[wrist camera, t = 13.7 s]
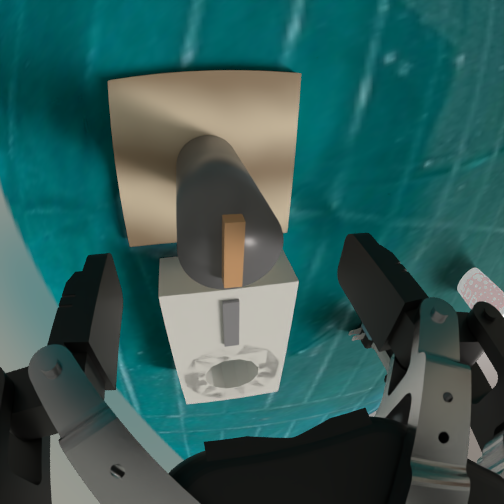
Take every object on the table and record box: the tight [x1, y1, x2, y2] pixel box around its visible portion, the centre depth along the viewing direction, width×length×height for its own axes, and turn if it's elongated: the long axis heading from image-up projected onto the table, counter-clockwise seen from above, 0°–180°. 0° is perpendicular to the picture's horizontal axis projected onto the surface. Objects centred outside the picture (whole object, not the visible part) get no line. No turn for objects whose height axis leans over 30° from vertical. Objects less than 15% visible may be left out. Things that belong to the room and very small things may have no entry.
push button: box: [349, 323, 394, 383], centre depth 32 cm, size 7×5×10 cm
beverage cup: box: [457, 267, 504, 317], centre depth 31 cm, size 6×6×14 cm
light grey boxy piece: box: [159, 249, 299, 404], centre depth 28 cm, size 16×10×5 cm, turn 178°
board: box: [108, 70, 301, 247], centre depth 20 cm, size 12×12×1 cm
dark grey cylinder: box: [176, 135, 283, 290], centre depth 15 cm, size 4×4×11 cm
